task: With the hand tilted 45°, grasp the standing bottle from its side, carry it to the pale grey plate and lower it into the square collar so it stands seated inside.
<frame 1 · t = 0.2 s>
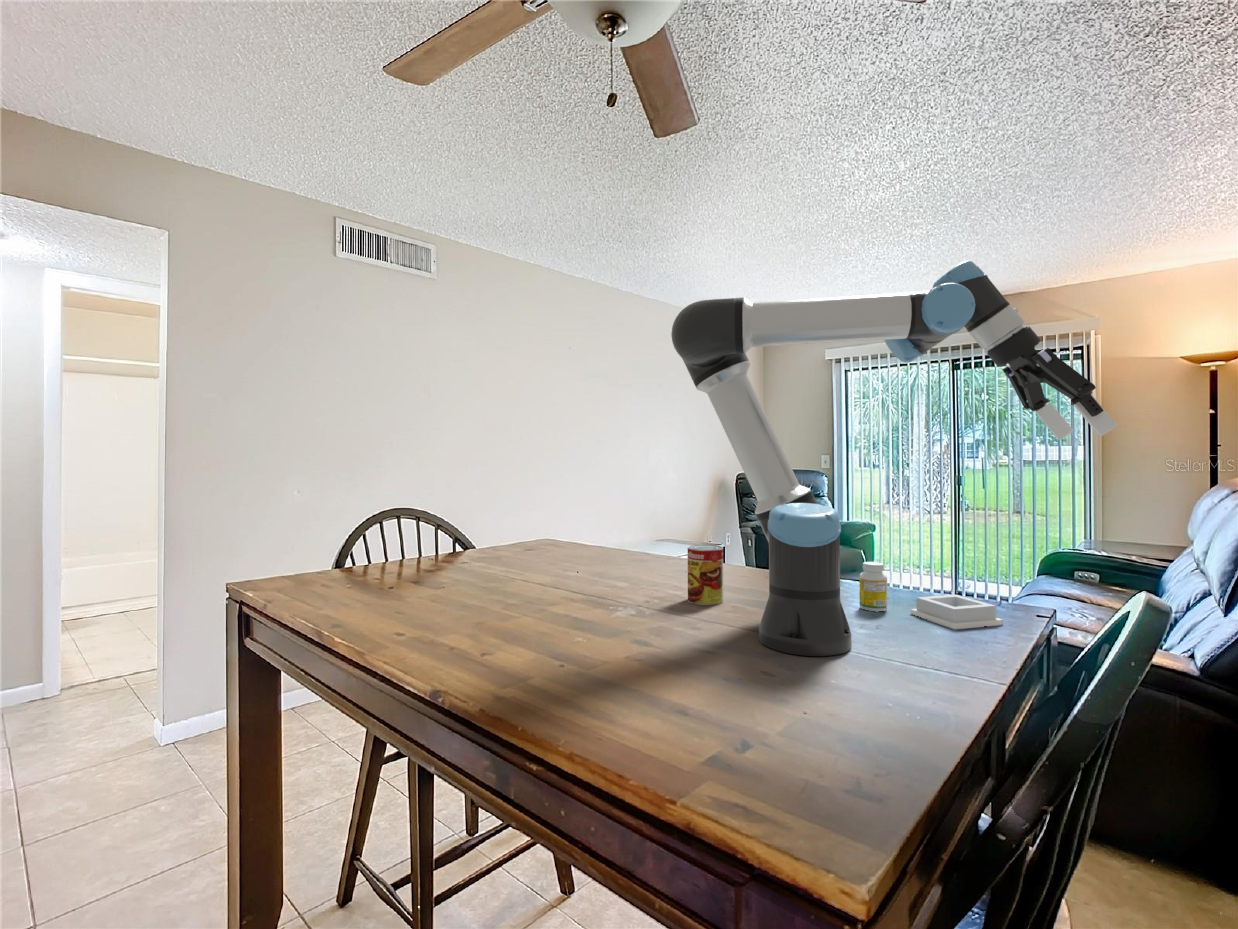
hand: (1086, 433, 101), 36 cm above the table, tool tilted 35°, fingers open, 13 cm apart
supplement bottle: (873, 610, 122), on the table
canned food: (705, 601, 130), on the table
socket collar: (955, 619, 113), on the table
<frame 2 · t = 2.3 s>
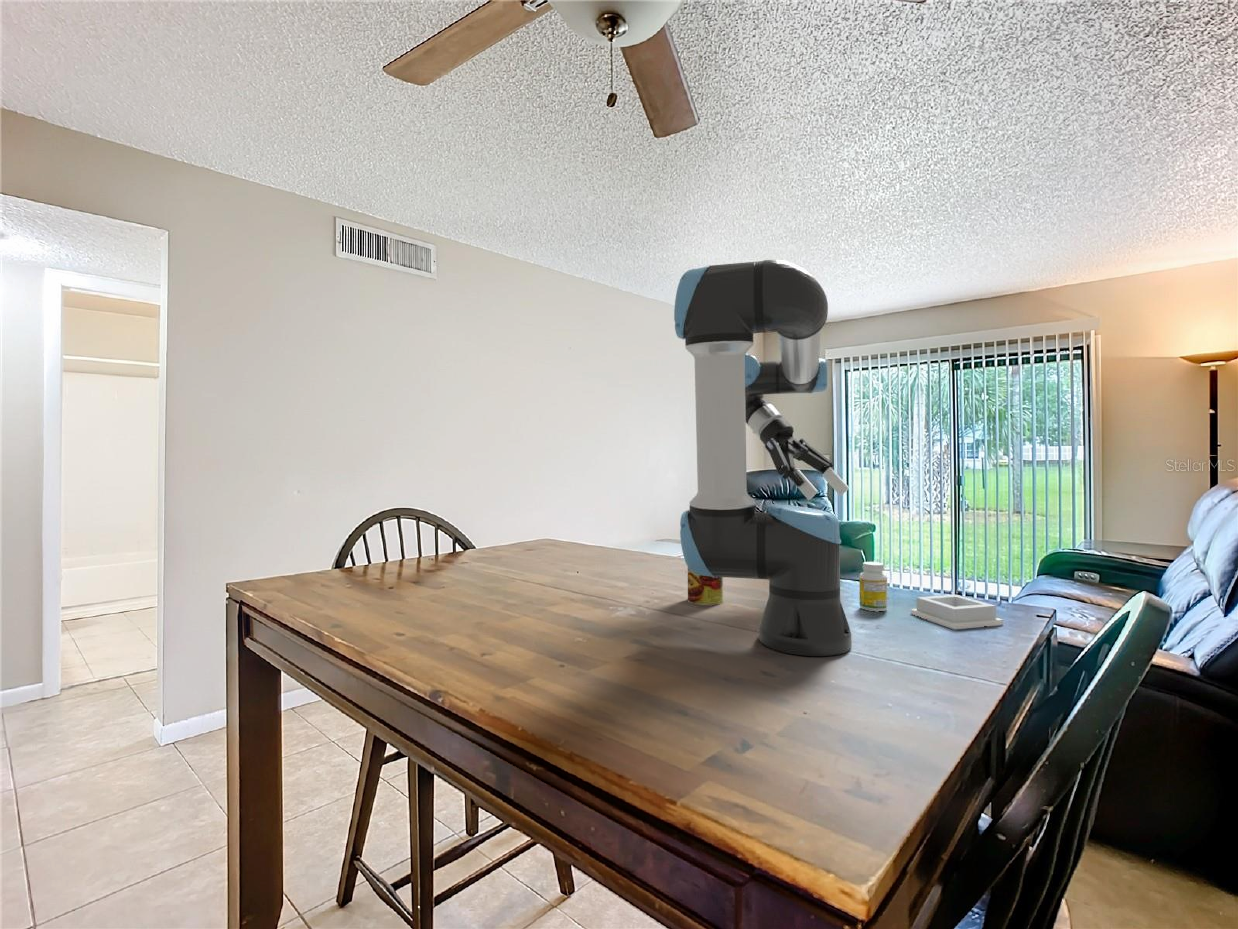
hand: (829, 493, 129), 24 cm above the table, tool tilted 45°, fingers open, 13 cm apart
nothing on the table moved.
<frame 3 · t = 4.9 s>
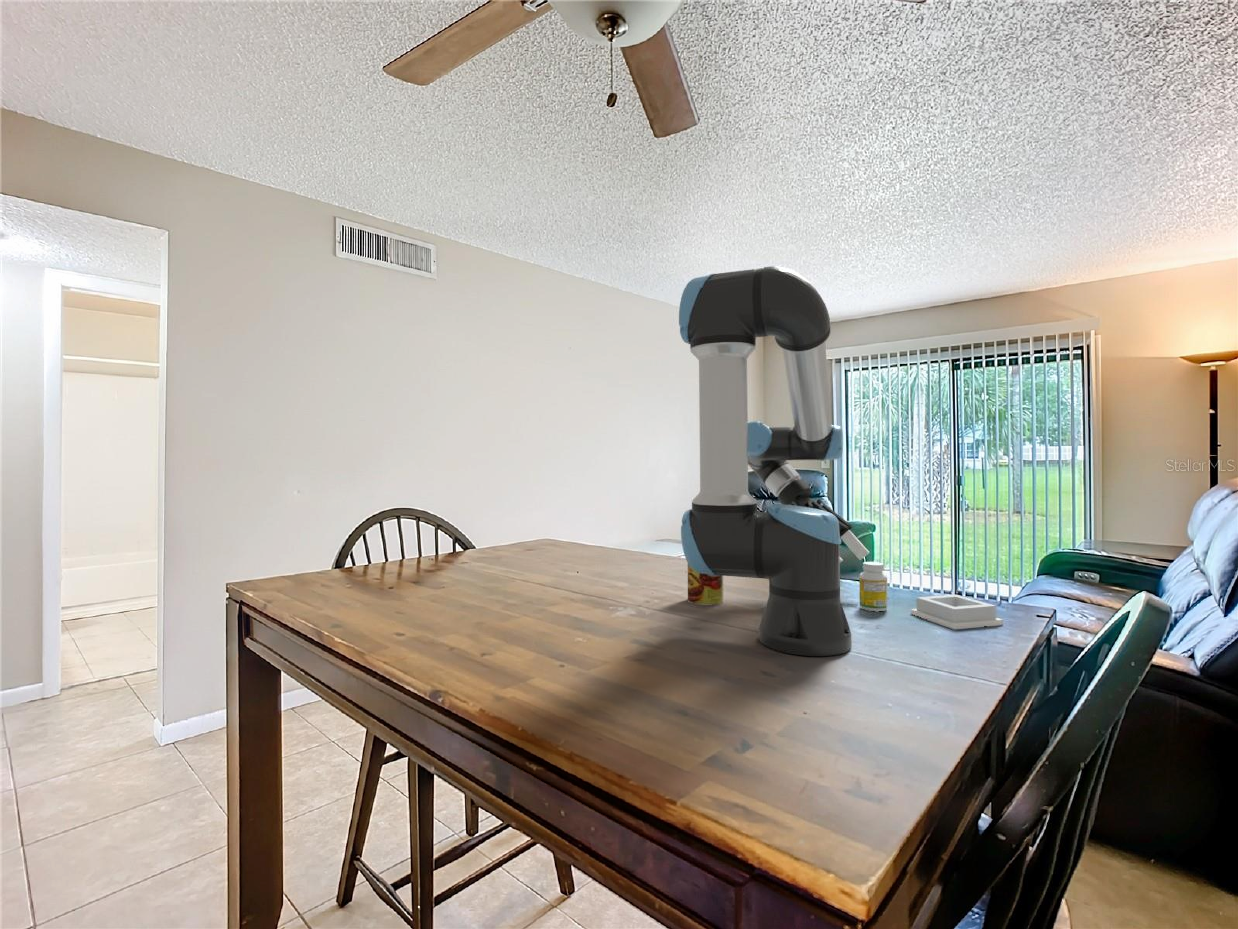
hand: (851, 560, 126), 9 cm above the table, tool tilted 45°, fingers open, 13 cm apart
nothing on the table moved.
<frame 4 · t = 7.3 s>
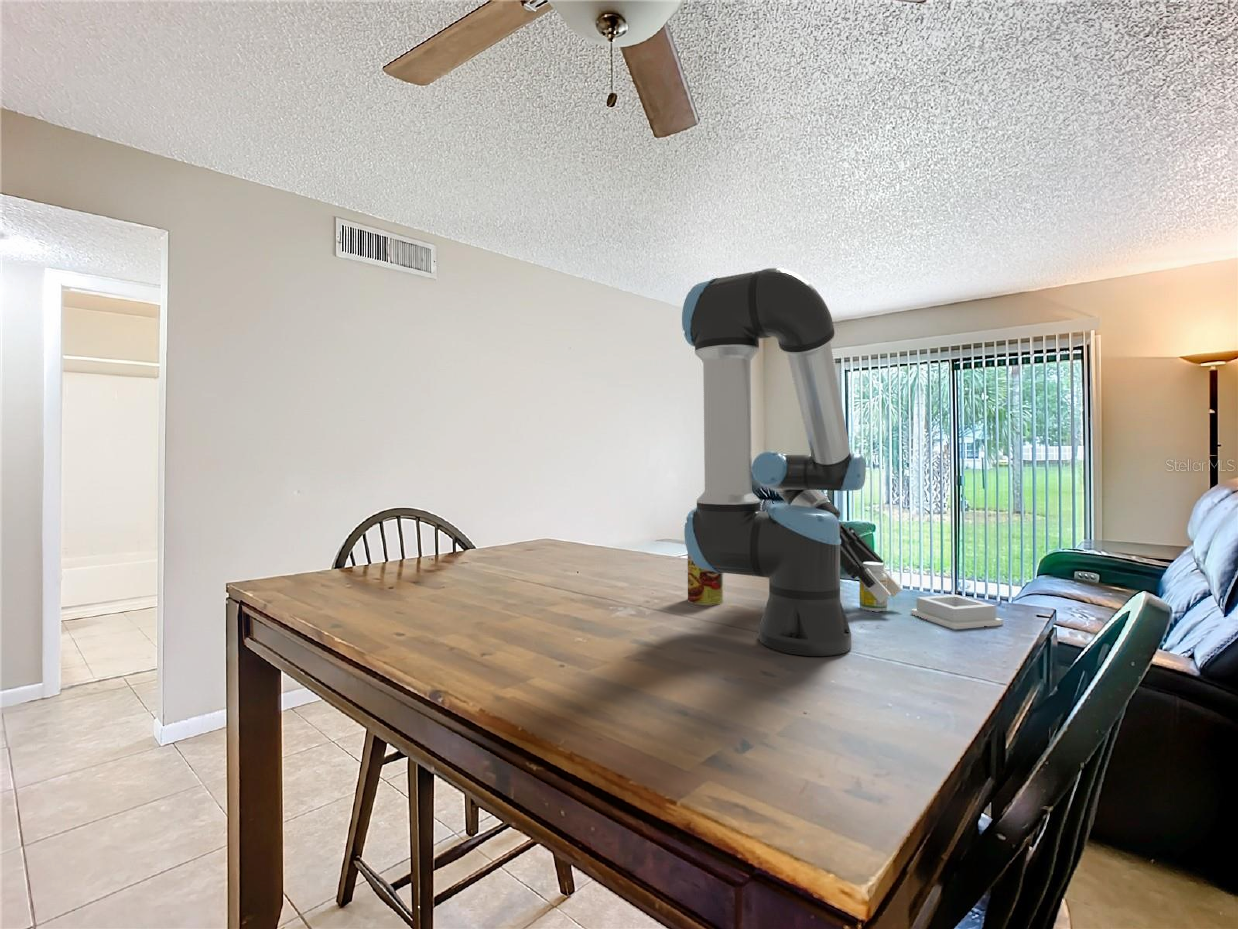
hand: (891, 595, 119), 3 cm above the table, tool tilted 45°, fingers closed on supplement bottle, 5 cm apart
supplement bottle: (873, 610, 122), on the table, touching gripper
everything else where it was.
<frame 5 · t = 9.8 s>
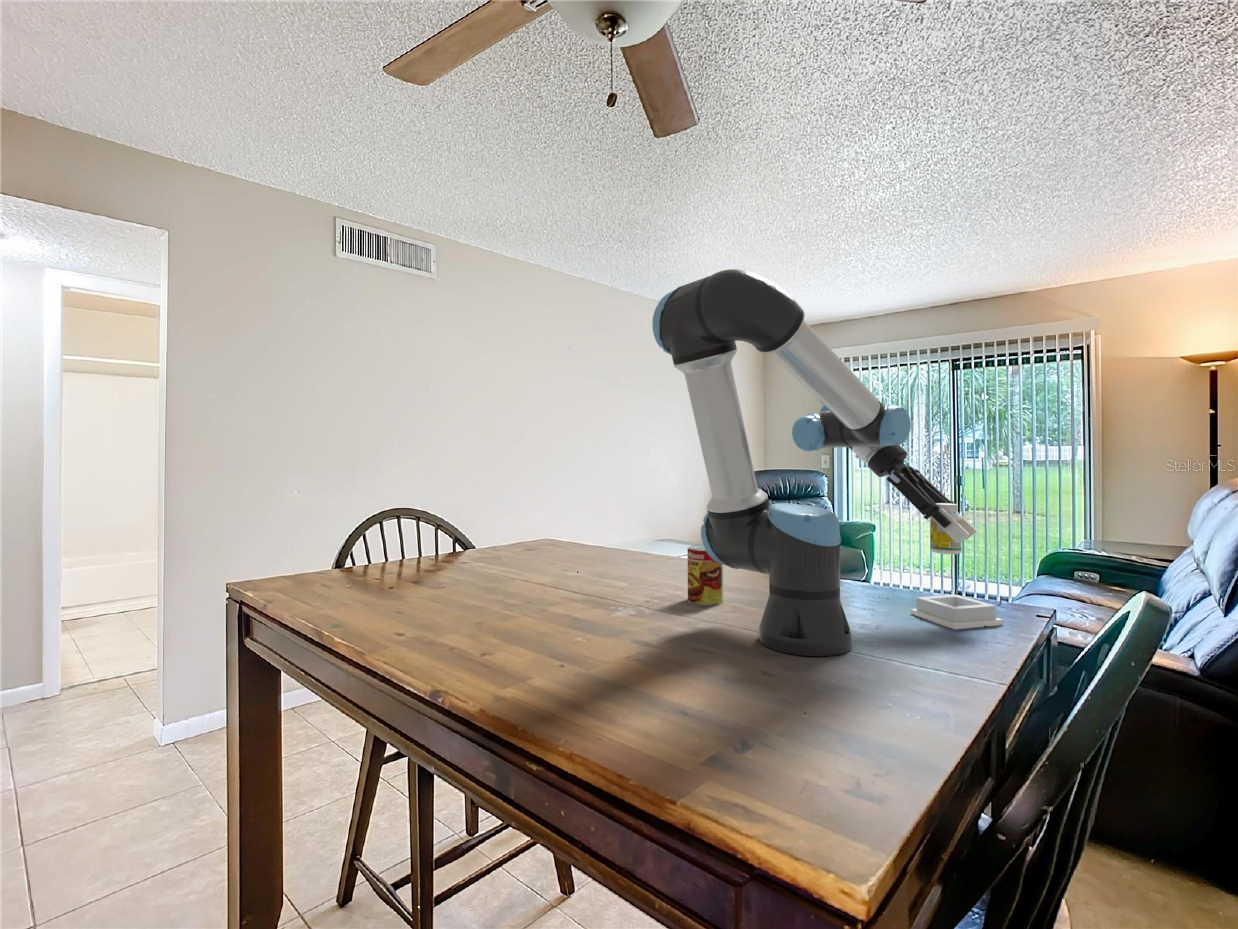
hand: (967, 537, 112), 16 cm above the table, tool tilted 45°, fingers closed on supplement bottle, 5 cm apart
supplement bottle: (945, 553, 115), point 13 cm above the table, touching gripper
everything else where it was.
when the fingers open (7 cm above the table, at t = 12.5 s): supplement bottle drops 2 cm, resting on socket collar.
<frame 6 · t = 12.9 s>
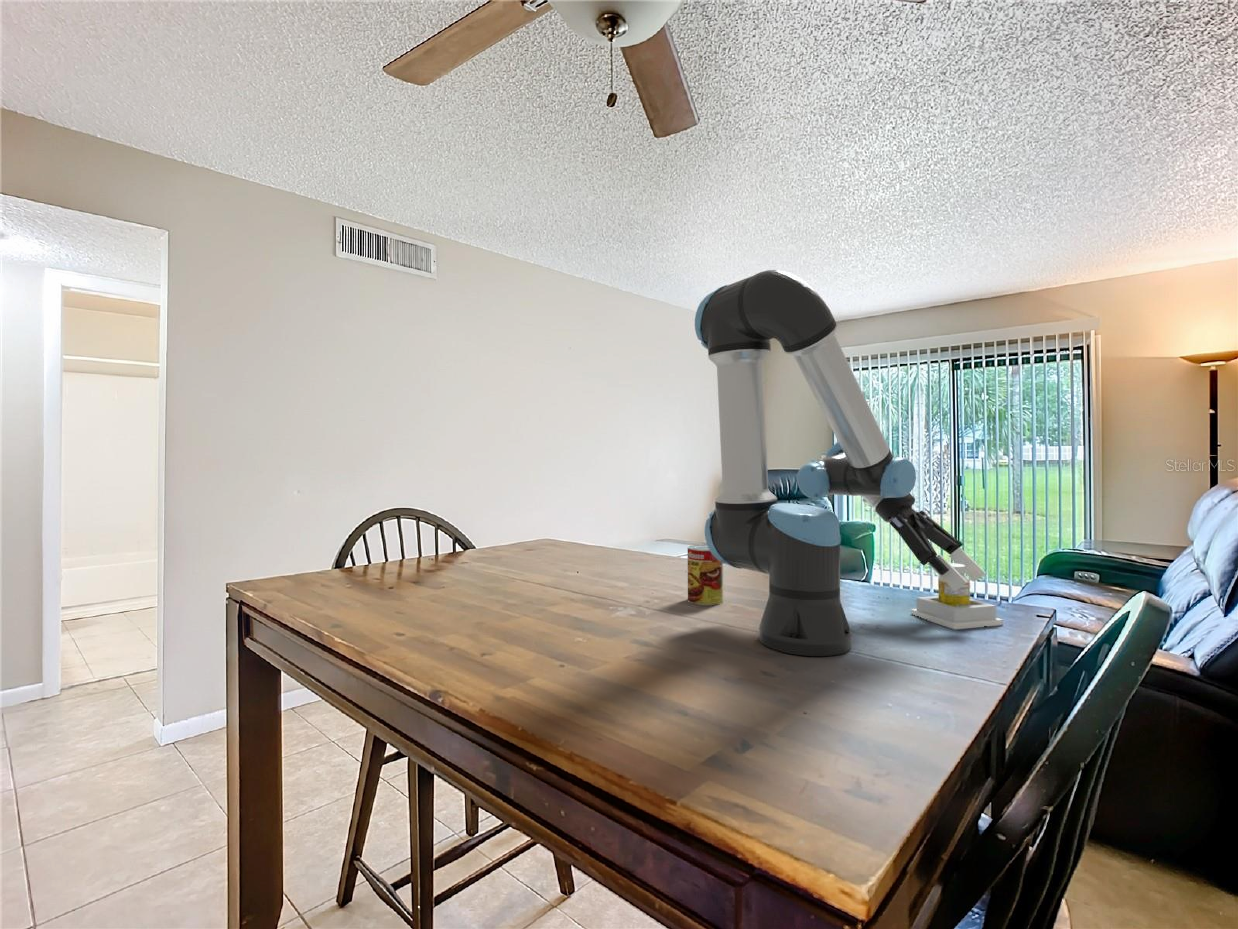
hand: (971, 581, 111), 8 cm above the table, tool tilted 45°, fingers open, 11 cm apart
supplement bottle: (954, 614, 114), point 1 cm above the table, touching socket collar
everything else where it was.
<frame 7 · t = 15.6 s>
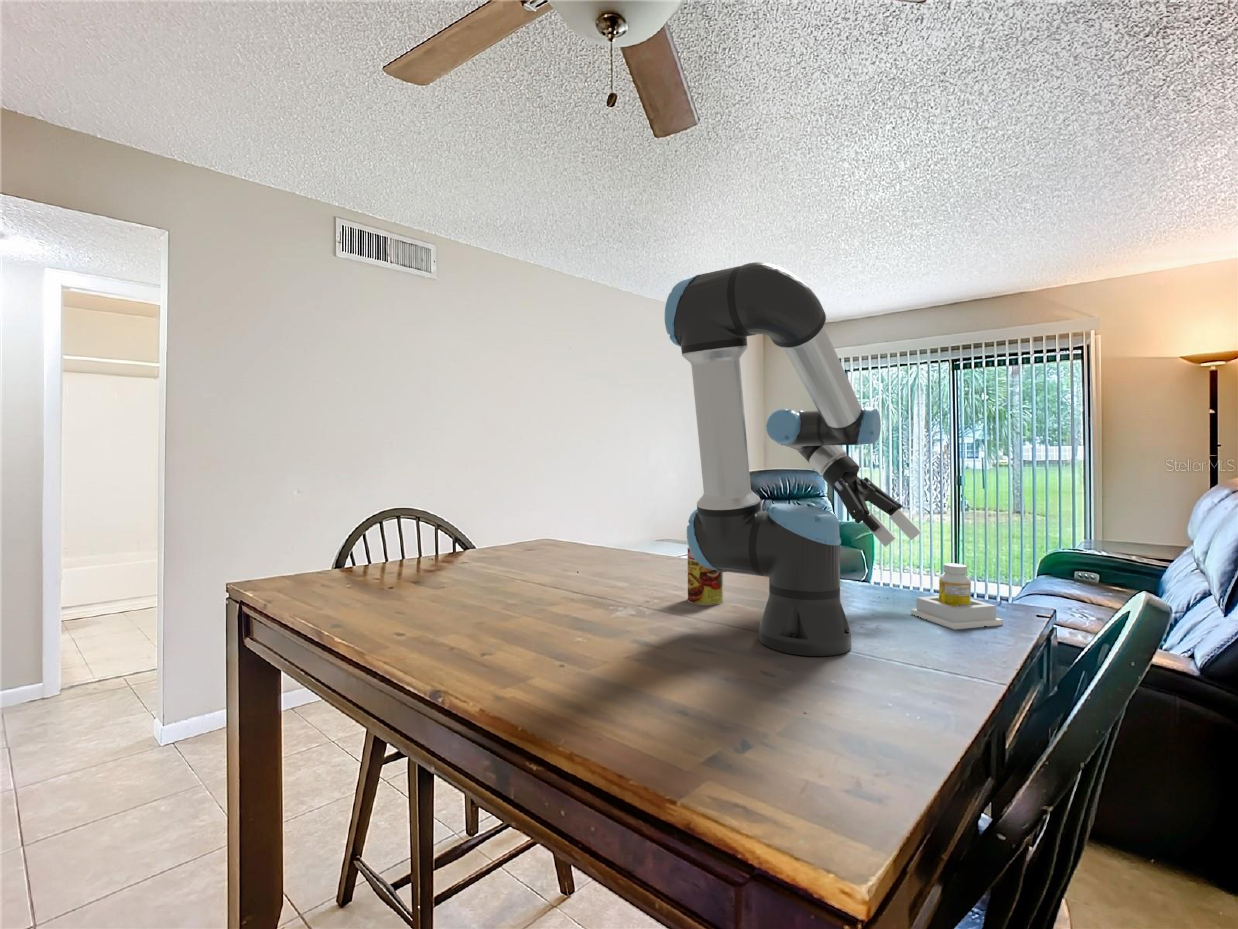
hand: (904, 539, 120), 15 cm above the table, tool tilted 45°, fingers open, 13 cm apart
nothing on the table moved.
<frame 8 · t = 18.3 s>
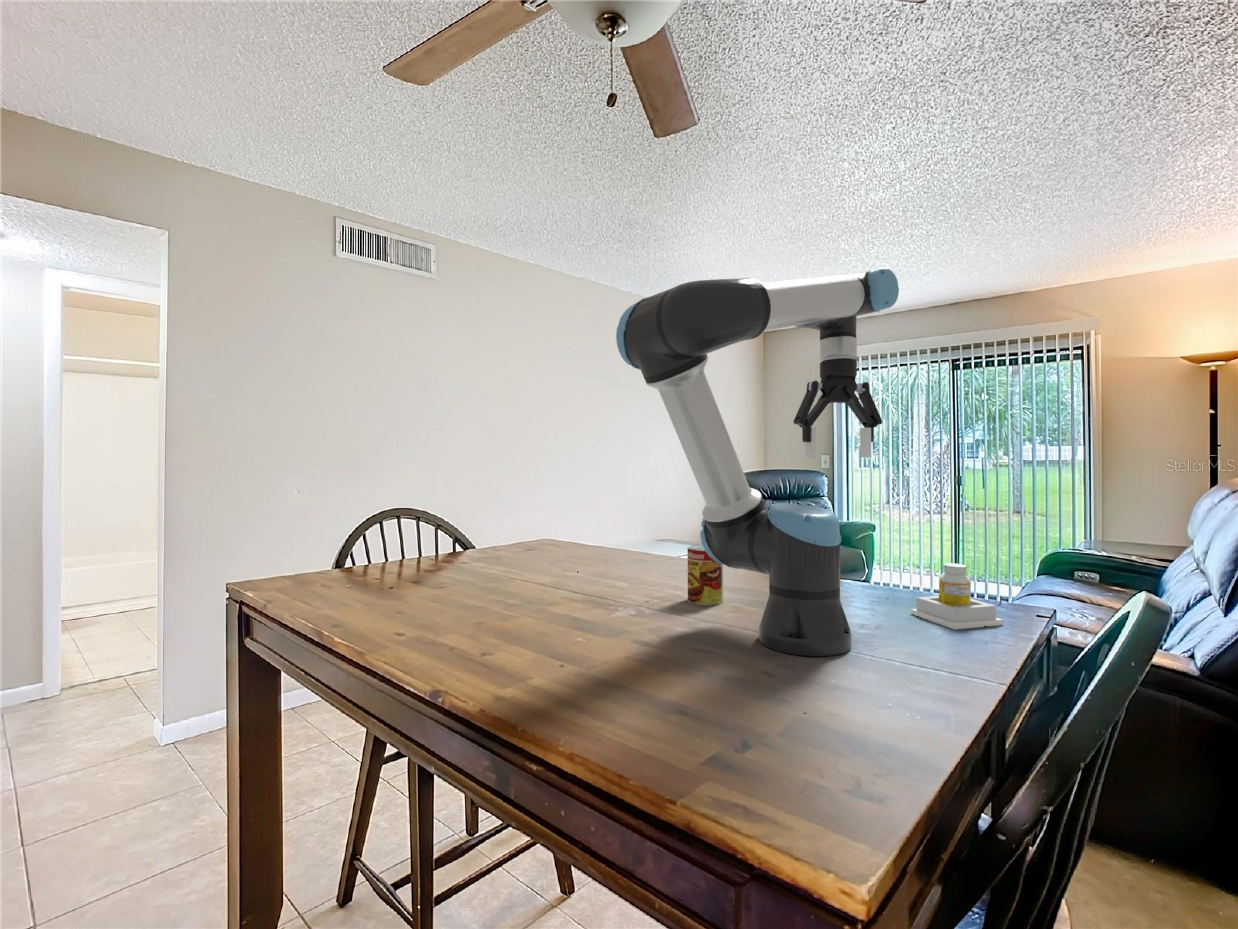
hand: (838, 457, 126), 32 cm above the table, tool pointing down, fingers open, 13 cm apart
nothing on the table moved.
at the end: supplement bottle 0.2 cm off-centre on the socket collar, point 0.8 cm above the socket collar's base; supplement bottle tilted 1°; the gripper is holding nothing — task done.
